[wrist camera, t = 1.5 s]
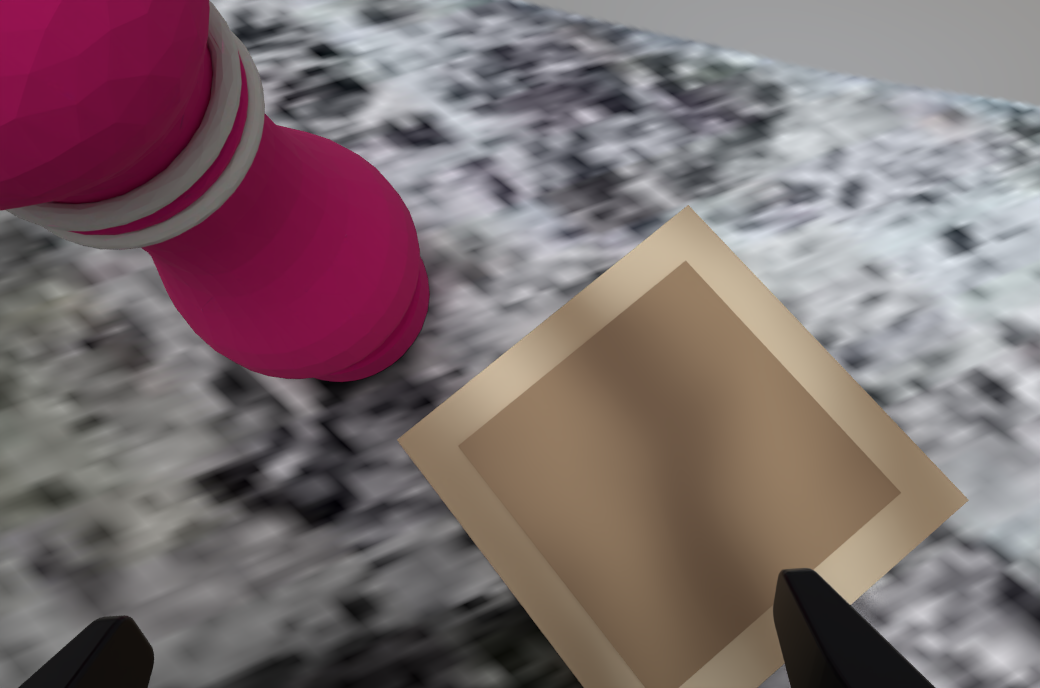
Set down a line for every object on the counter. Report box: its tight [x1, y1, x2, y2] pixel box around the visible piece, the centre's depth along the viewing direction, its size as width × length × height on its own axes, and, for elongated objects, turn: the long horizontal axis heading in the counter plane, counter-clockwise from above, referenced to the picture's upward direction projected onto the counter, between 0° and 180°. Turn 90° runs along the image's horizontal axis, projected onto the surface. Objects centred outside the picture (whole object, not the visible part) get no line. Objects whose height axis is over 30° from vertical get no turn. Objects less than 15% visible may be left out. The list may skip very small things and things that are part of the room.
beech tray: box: [397, 205, 968, 688], centre depth 22 cm, size 13×13×1 cm
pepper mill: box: [0, 0, 429, 382], centre depth 15 cm, size 7×7×20 cm
